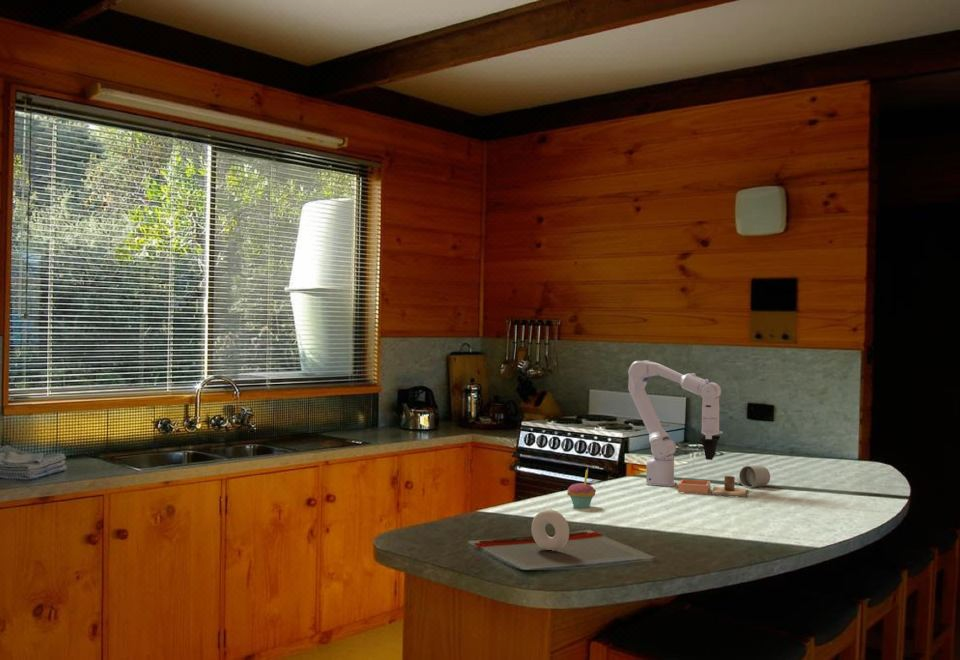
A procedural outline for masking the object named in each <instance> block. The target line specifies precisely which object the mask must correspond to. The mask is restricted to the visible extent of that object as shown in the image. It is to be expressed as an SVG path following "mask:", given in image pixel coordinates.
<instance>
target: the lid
mask: <svg viewBox="0 0 960 660" xmlns="http://www.w3.org/2000/svg"><path fill="white" fill-rule="evenodd" d="M723 478H724V481H723V482H724V487H723V486H713V488H712V490H711V495H712V494H727V495H742V496H745V495H746V490H747V488H746V487H744V488H743V487H735V478H736V477H735V476H732V475H724V477H723Z"/></svg>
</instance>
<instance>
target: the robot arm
mask: <svg viewBox="0 0 960 660" xmlns="http://www.w3.org/2000/svg"><path fill="white" fill-rule="evenodd" d="M627 373H628V382H627V383H628V384H627V385H628V387H627V389H628V392H629V394H630V397H631V398H632V401H633V403H634V406H635V407H636V409H637V411H638V413H639V415H640V416H639V417H640V418H641V420H642V422H643V424H644V426H645V428H646V431H647V433H648V435H649V438H648V440H649V441H648V442H649V444H650V453H651V454H652V457H650V458H647V459H646V465H645V466H646V467H645V468H646V469H645V471H646V473H645V475H646V476H645V478H646V481H645V482H646V483H645V484H646V485H648V486H649V485H650V486H665V487H675V485H676V484H677V481H675V457H674V454H675V453H676V451H677V443H676V441H674V440H673V439H672V438H671V437H670V435H669V434H668V432H667V431H665V430H664V428H663V425H662V423H661V421H660V419H659V417H658V415H657V413H656V411H655V409H654V407H653V405H652V402H651V400H650V397H649V396H648V394H647V391H646V389H645V388H646V387H647V383H648V381H649V380H650V379H651V378H652V377H653V376H660V377H662V378H665V379H668V380H669V381H673V382H675V383H678V384H680V387H681V389H683V390H686V391H688V392H691V393H692V394H695V395H697V396H700V397H701V398H702V399H701V400H702V402H701V431H700V433H701V434H702V435H703V436H702V437H701V438H700V442H701V444H702V446H703V451H704V458H705V460H707V461H709V460H710V461H712V460H713V459H714V457H715V456H716V450H717V445H718V442H719V440H720V438H721V436H720V435H723V431H721V430H720V397H721V394H722V388H721V386H720V385H719V384H718V383H717V382H715V381H710V380H709V379H708V378H705V379H704V378H701V377H699V376H697V375H696V373H694V372H691V373H686V374H683V373H680V372H678V371H677V370H674V369H672V368H669V367H667V366H666V365H663V364H661V363H658V362H655V361H651V360H648V359H644V360H635V361H633V362H632V363H631V364H630V366H629V368H628V370H627ZM709 381H710V382H709Z"/></svg>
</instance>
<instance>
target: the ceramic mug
mask: <svg viewBox="0 0 960 660" xmlns="http://www.w3.org/2000/svg"><path fill="white" fill-rule="evenodd" d="M770 473H771V472H770V471H769V470H768V468H767V467H766V466H763V465H744V466H743V467H742V468H741V469H740V471H739V474H738V475H739V478H738V479H737V480H736V482H737V484H738V485H742V486H743V487H744V488H746V487H747V488H746V489H755V488H760V487H761V488H762V487H765V486H767V485H768V484H769V482H771V474H770Z"/></svg>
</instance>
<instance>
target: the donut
mask: <svg viewBox="0 0 960 660" xmlns="http://www.w3.org/2000/svg"><path fill="white" fill-rule="evenodd" d="M548 524H549V525H552V526H553V528H554V531H555V533H554V535H553V536H550V535H549V534H547V532H546V526H547V525H548ZM530 528H531V535H532V537H533V540H534V541H535V543H536V544H537V545H538V547H540V548H541V549H543V550H544V549H546V550H545V551H547V550H552V551H551V552H556V551H559V550H561V549H562V548H563V547H565V546H566V544H567V542H568V541H569V537H570V527H569V524H568V522H567V519H566V518H565V517H564V516H563V514H561V512H559V511H558V510H555V509H551V508H550V509H543V510H541V511H539V512H537V514H535V516H534V517H533V520H532V522H531V527H530Z"/></svg>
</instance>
